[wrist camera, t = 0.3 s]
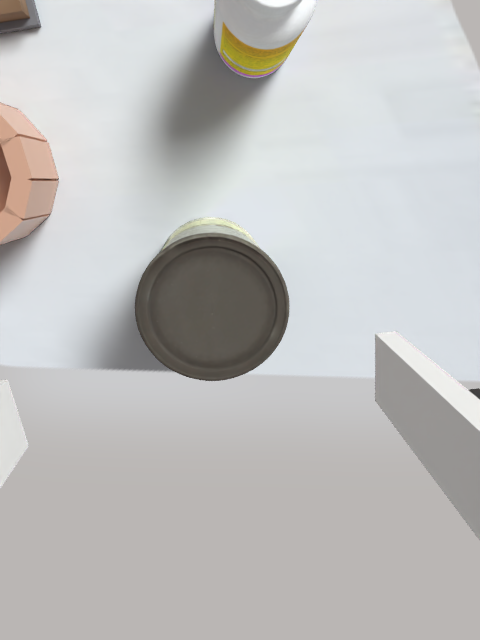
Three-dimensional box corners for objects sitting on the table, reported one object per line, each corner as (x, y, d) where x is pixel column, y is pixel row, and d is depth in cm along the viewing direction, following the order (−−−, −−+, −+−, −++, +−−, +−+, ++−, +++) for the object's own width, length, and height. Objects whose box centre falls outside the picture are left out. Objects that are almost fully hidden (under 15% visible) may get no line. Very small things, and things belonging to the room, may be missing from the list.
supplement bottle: (298, 70, 37) (343, 15, 24) (223, 88, 37) (231, 41, 24) (284, -21, 34) (325, -131, 22) (205, -3, 34) (203, -103, 22)
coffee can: (277, 298, 43) (308, 352, 30) (182, 333, 43) (171, 401, 30) (243, 199, 40) (260, 209, 26) (141, 238, 40) (107, 267, 27)
